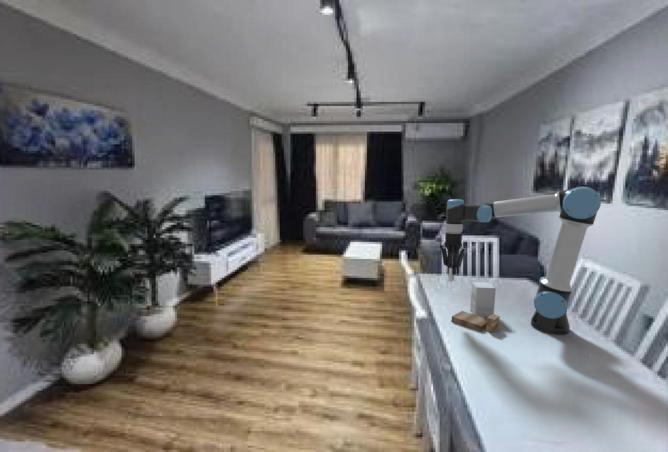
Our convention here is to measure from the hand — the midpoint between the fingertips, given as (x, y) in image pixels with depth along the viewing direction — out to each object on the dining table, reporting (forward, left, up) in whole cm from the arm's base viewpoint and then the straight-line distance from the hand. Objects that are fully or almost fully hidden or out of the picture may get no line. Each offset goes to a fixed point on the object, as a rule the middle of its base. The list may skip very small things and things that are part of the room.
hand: (451, 280), depth 176 cm
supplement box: (-10, -14, -18) cm, 25 cm away
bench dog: (-21, 0, -18) cm, 28 cm away
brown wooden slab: (-12, +1, -18) cm, 21 cm away
